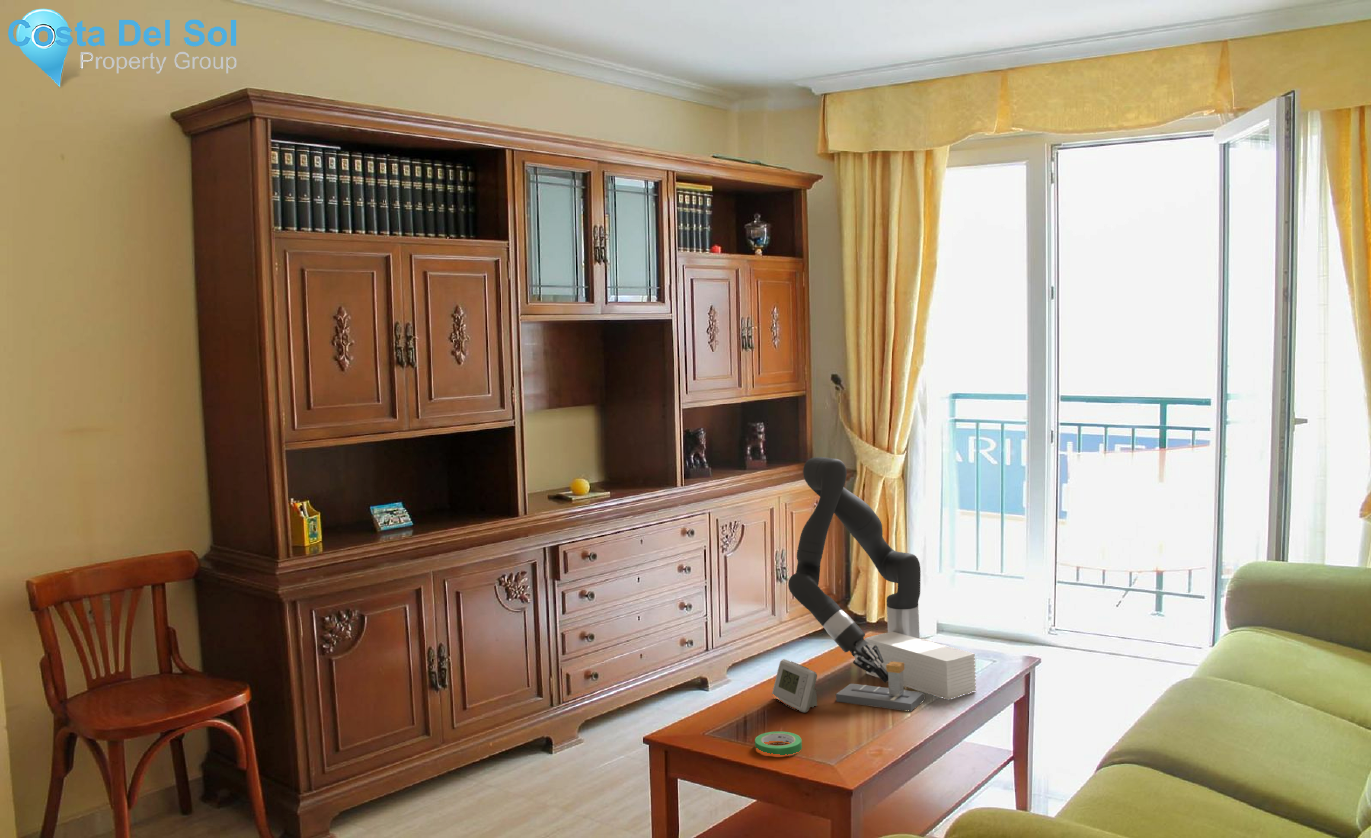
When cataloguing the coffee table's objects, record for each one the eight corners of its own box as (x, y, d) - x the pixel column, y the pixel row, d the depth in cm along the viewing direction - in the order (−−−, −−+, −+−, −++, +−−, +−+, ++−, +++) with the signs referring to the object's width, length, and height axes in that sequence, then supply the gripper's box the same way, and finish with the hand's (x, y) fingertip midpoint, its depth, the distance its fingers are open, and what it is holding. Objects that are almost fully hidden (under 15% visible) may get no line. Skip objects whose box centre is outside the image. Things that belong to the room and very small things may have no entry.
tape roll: (811, 748, 251) (810, 737, 251) (782, 762, 243) (782, 751, 243) (774, 738, 259) (774, 727, 258) (745, 752, 251) (745, 741, 250)
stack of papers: (976, 692, 285) (974, 653, 284) (948, 701, 279) (946, 661, 279) (893, 667, 312) (891, 631, 311) (866, 674, 306) (864, 637, 306)
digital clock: (770, 698, 289) (768, 660, 288) (800, 693, 291) (799, 655, 290) (792, 716, 273) (790, 676, 272) (824, 711, 275) (822, 671, 275)
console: (851, 690, 291) (850, 682, 291) (924, 700, 280) (924, 692, 280) (836, 701, 283) (835, 693, 283) (911, 711, 272) (911, 703, 272)
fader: (892, 691, 281) (891, 661, 281) (905, 693, 279) (904, 662, 279) (887, 695, 278) (886, 664, 278) (900, 697, 276) (899, 666, 276)
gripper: (842, 627, 279) (888, 678, 273) (862, 616, 290) (906, 664, 284) (825, 645, 282) (870, 696, 276) (845, 633, 293) (888, 681, 287)
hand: (888, 680), depth 280 cm, fingers closed
